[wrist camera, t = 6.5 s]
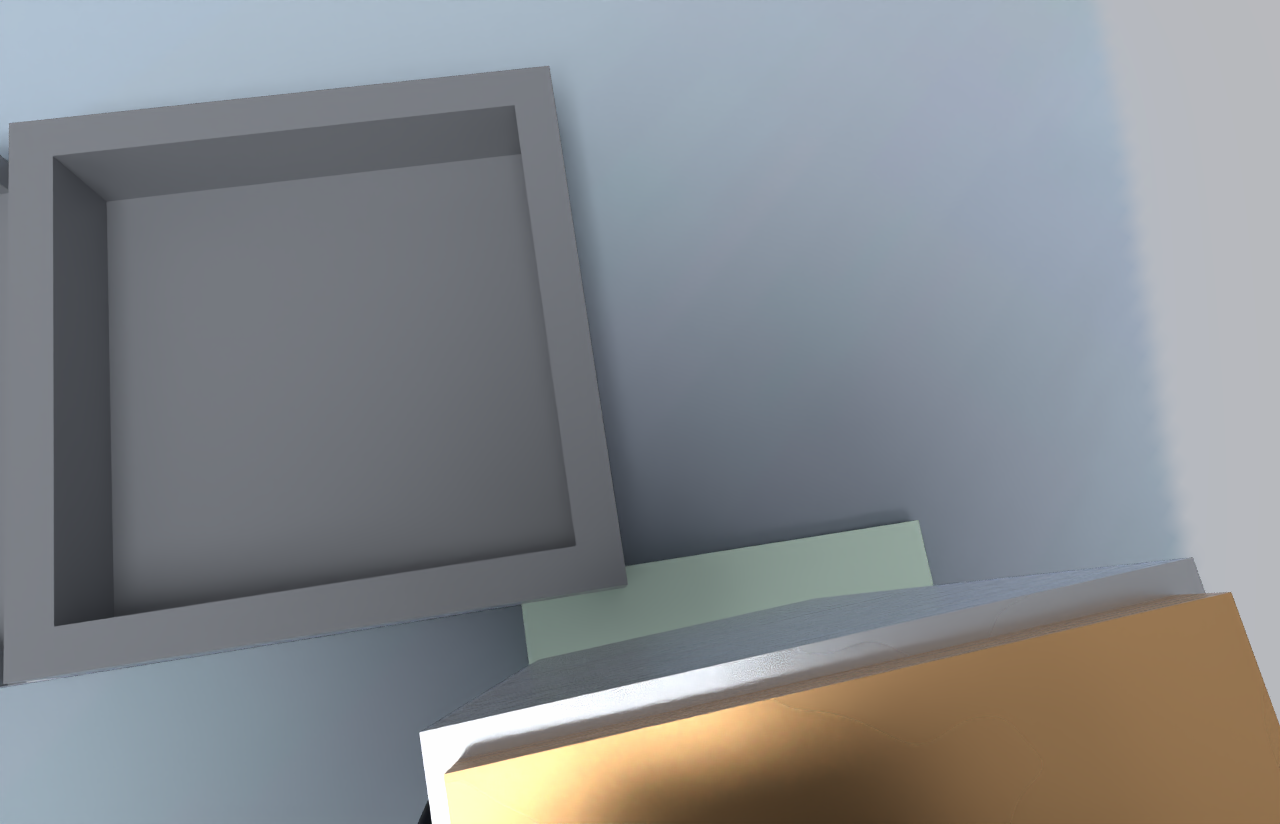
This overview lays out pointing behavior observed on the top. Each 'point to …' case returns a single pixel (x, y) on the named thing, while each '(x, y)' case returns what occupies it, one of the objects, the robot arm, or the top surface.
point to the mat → (729, 587)
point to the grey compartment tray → (292, 373)
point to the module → (889, 714)
